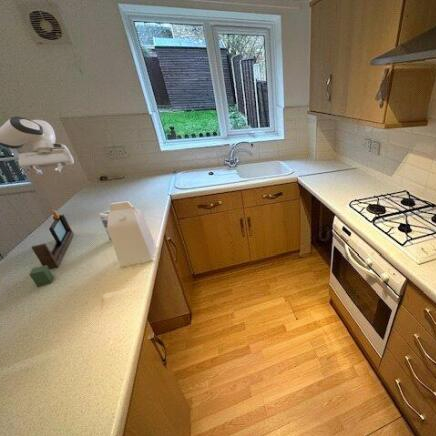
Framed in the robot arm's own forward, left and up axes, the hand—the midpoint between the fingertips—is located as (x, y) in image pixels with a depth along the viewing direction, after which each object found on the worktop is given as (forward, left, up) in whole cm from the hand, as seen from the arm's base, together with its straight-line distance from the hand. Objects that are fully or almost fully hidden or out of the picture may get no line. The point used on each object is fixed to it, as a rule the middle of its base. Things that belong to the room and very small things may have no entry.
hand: (49, 173), depth 119 cm
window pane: (+15, -15, -27) cm, 35 cm away
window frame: (+20, -21, -29) cm, 41 cm away
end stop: (+37, -38, -29) cm, 60 cm away
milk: (+59, -16, -30) cm, 68 cm away
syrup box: (+37, -6, -30) cm, 48 cm away
